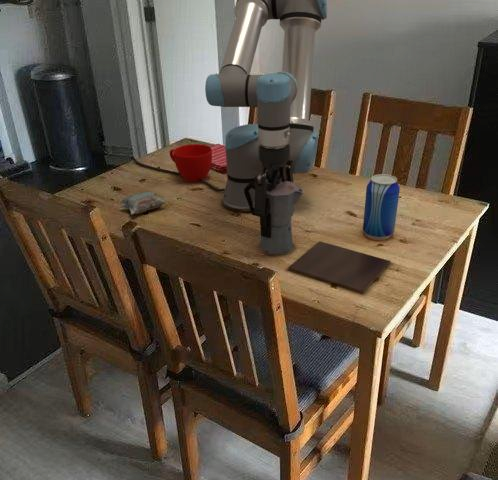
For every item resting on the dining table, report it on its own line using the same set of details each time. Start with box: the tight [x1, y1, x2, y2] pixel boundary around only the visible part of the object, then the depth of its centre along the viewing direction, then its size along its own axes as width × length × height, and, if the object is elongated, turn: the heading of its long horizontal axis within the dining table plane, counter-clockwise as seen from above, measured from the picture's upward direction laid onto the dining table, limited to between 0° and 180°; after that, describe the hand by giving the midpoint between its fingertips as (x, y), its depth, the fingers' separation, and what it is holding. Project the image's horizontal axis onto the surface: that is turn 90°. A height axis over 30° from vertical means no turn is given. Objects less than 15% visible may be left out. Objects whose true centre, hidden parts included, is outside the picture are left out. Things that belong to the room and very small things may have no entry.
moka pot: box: [244, 176, 305, 256], centre depth 138 cm, size 10×15×20 cm, turn 78°
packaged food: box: [119, 190, 168, 216], centre depth 165 cm, size 9×12×5 cm
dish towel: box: [208, 143, 227, 174], centre depth 200 cm, size 17×24×3 cm
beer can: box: [362, 173, 401, 241], centre depth 143 cm, size 8×8×16 cm
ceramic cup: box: [169, 143, 212, 183], centre depth 185 cm, size 13×17×10 cm
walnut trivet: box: [287, 241, 391, 295], centre depth 134 cm, size 20×16×1 cm
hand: (275, 229), depth 141 cm, fingers closed on moka pot, 8 cm apart
